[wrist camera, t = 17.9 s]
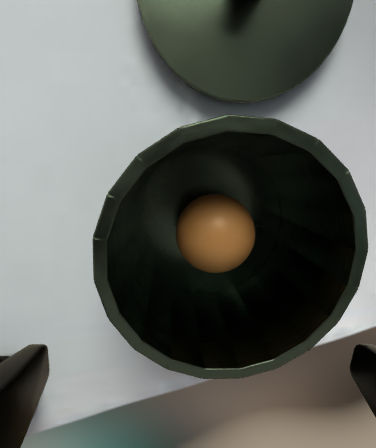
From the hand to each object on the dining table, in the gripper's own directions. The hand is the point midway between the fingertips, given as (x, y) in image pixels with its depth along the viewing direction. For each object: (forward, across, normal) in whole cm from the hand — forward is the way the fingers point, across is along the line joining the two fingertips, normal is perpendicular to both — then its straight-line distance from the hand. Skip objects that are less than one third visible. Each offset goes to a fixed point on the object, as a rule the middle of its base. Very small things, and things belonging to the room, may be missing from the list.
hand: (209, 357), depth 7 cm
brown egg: (+9, -2, -1) cm, 9 cm away
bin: (+12, -2, -1) cm, 12 cm away
